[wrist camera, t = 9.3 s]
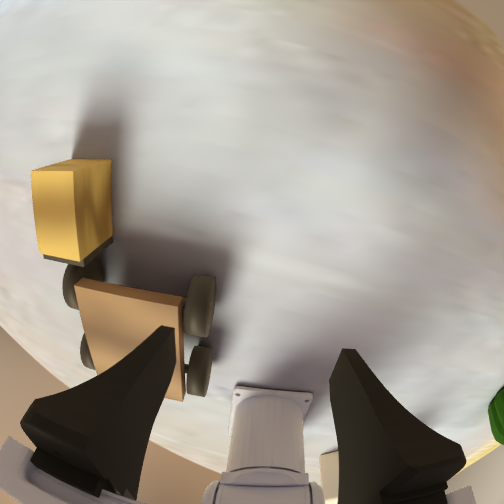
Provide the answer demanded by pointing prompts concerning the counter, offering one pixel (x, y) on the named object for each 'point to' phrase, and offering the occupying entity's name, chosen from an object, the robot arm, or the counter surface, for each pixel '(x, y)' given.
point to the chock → (73, 209)
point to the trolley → (141, 323)
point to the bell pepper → (497, 417)
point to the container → (330, 476)
